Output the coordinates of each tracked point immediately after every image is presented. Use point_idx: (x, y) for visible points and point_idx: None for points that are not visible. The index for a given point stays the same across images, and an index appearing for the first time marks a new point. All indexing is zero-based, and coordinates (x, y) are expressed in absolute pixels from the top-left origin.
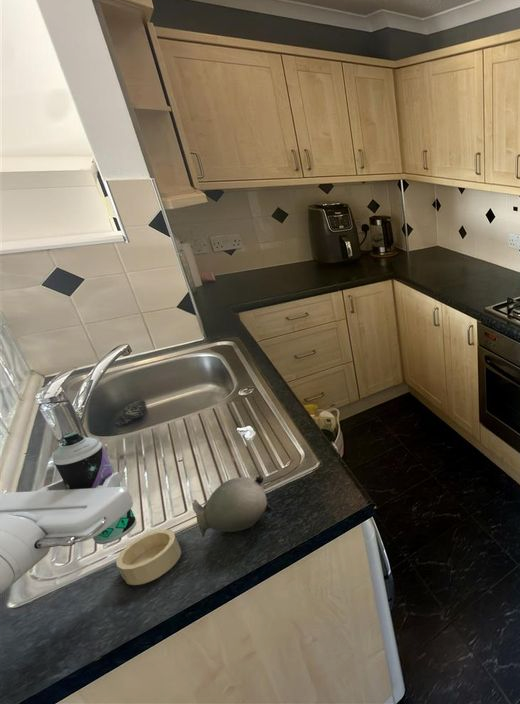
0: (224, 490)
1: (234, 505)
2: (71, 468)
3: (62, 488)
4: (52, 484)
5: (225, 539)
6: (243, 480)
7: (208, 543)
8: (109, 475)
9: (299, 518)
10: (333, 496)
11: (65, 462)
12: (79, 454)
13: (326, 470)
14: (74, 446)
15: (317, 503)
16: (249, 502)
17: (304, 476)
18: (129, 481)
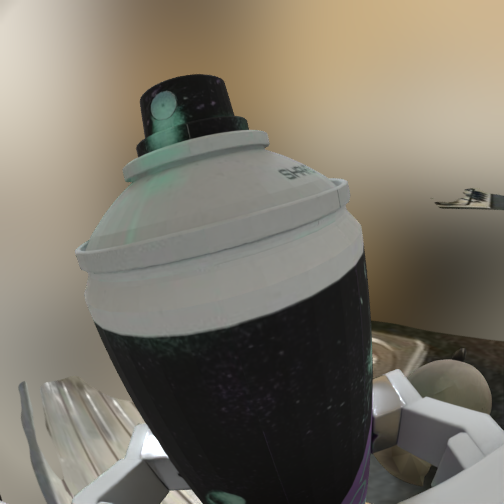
0: (450, 387)
1: (484, 402)
2: (300, 366)
3: (155, 490)
4: (112, 478)
5: (432, 474)
6: (452, 362)
7: (408, 492)
8: (383, 392)
9: (501, 398)
10: (500, 359)
11: (264, 288)
12: (340, 202)
13: (443, 343)
14: (251, 151)
15: (495, 374)
16: (489, 390)
17: (425, 360)
18: (132, 420)
